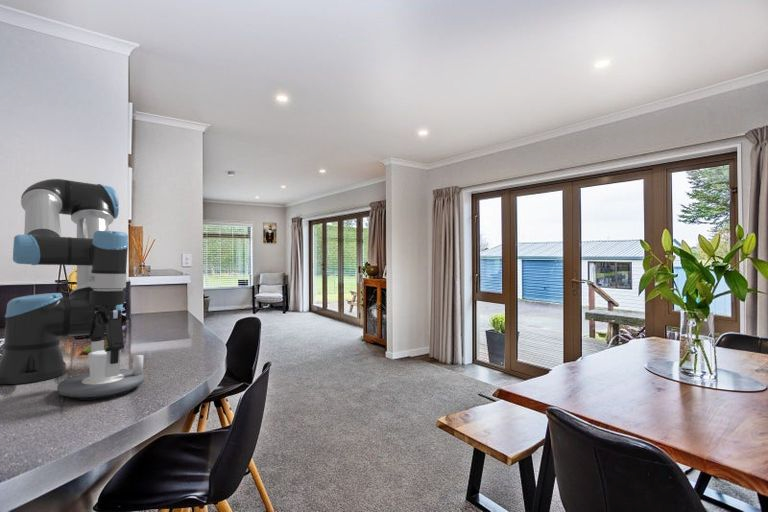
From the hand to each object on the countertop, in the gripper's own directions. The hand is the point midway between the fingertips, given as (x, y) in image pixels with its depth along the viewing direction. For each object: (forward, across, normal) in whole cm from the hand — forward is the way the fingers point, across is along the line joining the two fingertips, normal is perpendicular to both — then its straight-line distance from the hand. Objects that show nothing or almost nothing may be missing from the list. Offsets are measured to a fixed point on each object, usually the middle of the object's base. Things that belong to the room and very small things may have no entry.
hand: (103, 370), depth 98 cm
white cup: (+2, 0, 0) cm, 2 cm away
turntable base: (+5, 0, 0) cm, 5 cm away
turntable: (+4, 0, 0) cm, 4 cm away
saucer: (+6, -48, +11) cm, 50 cm away
